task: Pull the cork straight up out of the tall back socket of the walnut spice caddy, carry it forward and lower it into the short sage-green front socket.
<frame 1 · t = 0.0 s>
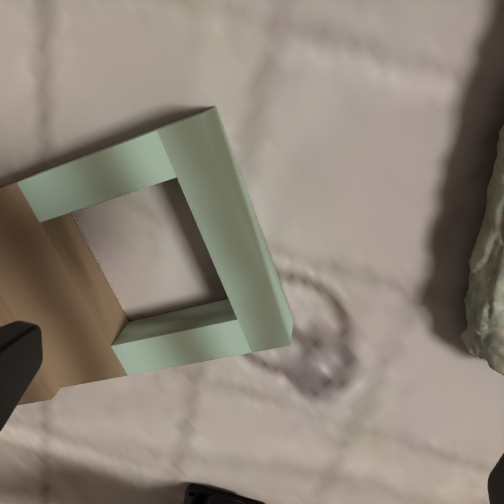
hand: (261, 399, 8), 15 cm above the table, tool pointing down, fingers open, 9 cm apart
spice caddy: (34, 285, 27), on the table
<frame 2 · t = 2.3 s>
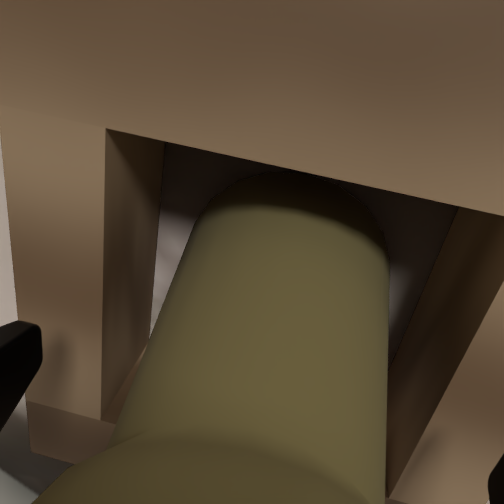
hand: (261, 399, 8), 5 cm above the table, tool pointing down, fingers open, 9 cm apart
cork: (285, 267, 13), resting in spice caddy
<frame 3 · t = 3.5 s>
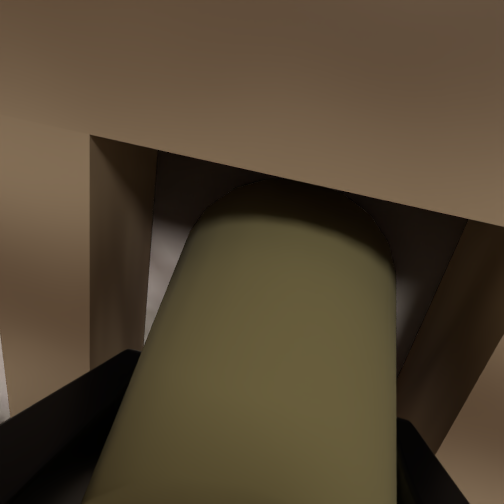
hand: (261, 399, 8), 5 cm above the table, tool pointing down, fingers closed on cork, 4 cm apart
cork: (285, 278, 12), resting in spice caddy, touching gripper
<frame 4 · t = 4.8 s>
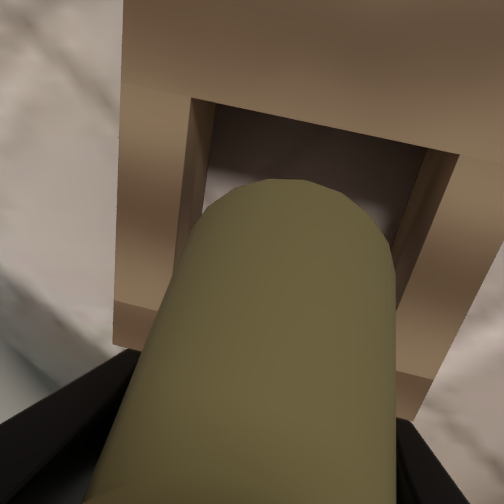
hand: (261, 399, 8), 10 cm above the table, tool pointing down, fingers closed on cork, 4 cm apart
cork: (285, 278, 12), point 6 cm above the table, touching gripper
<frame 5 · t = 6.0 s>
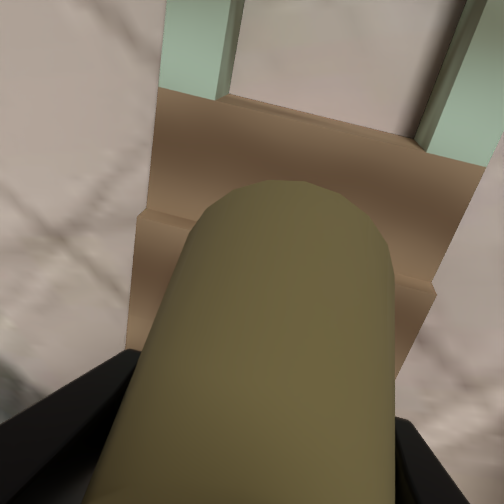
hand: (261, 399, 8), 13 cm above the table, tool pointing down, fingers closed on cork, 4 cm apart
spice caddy: (290, 222, 20), on the table
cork: (284, 279, 12), point 8 cm above the table, touching gripper
when the fingers open (5 cm above the table, at t = 8.7 s): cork stays where it is, resting in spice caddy.
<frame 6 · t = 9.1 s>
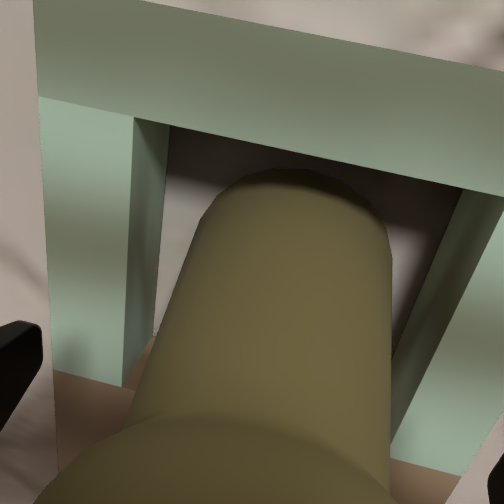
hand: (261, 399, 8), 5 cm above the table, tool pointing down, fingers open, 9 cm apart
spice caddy: (239, 458, 17), on the table
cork: (289, 262, 13), resting in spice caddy
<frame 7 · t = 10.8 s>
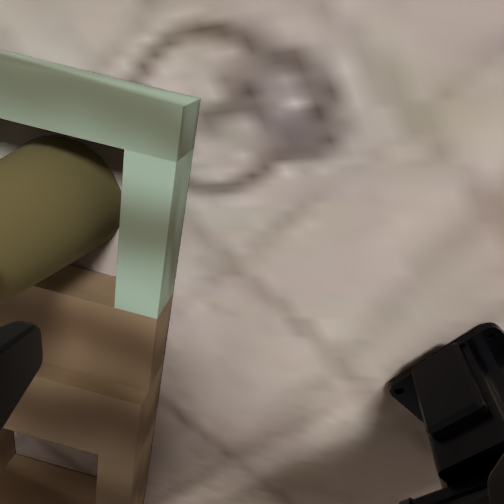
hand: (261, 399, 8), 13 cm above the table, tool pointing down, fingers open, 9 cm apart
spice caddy: (65, 333, 26), on the table
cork: (68, 195, 22), resting in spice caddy
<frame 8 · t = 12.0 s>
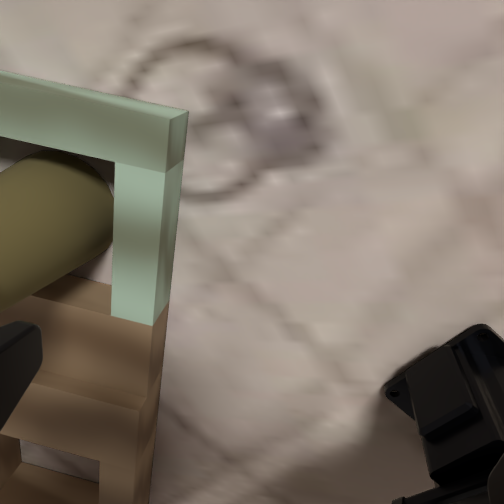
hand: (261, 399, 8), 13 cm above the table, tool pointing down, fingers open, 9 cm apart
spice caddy: (66, 342, 26), on the table
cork: (65, 207, 22), resting in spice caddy
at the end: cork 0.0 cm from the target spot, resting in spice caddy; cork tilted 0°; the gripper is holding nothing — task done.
